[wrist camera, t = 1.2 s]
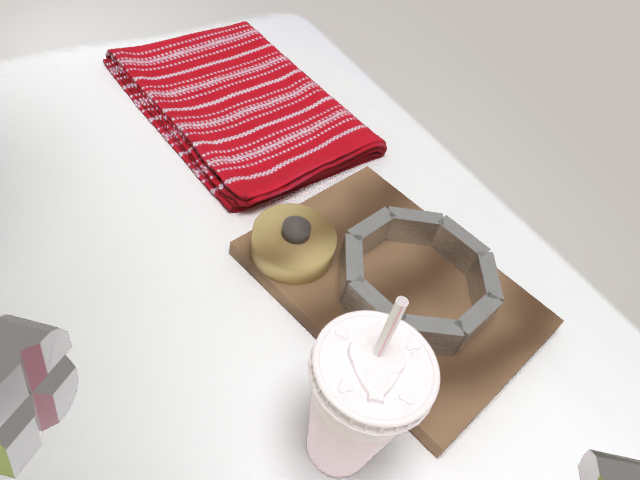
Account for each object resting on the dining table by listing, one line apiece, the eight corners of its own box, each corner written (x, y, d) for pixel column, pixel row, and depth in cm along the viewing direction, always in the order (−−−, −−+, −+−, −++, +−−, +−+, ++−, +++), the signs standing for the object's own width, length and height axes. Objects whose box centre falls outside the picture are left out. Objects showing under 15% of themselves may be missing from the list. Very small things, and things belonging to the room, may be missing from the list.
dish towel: (234, 228, 47) (237, 204, 45) (98, 68, 57) (95, 42, 55) (390, 161, 55) (398, 139, 53) (247, 33, 66) (250, 11, 64)
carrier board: (229, 253, 44) (232, 215, 41) (364, 176, 52) (375, 141, 49) (436, 458, 36) (460, 429, 33) (556, 329, 45) (582, 298, 42)
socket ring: (307, 274, 42) (312, 251, 41) (404, 211, 49) (412, 189, 47) (424, 384, 38) (436, 364, 36) (514, 299, 44) (528, 279, 42)
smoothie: (390, 406, 38) (469, 268, 28) (389, 510, 34) (482, 392, 23) (290, 389, 38) (334, 242, 27) (276, 492, 33) (321, 364, 23)
